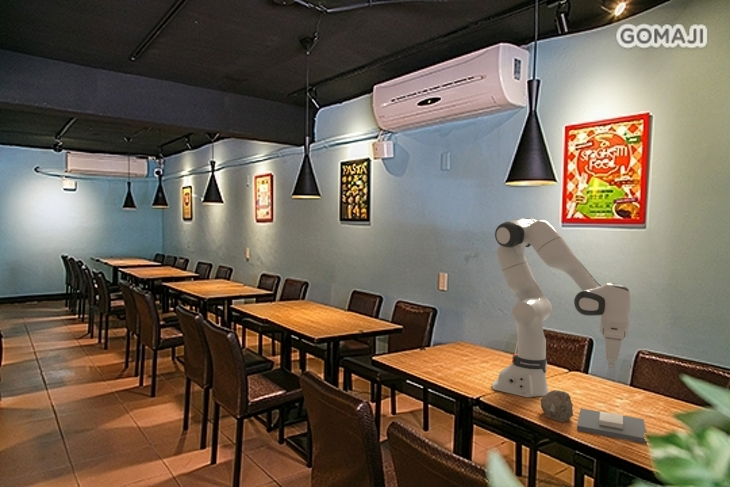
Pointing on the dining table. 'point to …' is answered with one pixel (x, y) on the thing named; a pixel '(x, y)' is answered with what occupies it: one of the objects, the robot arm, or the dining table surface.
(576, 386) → the dining table surface
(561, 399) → the rock
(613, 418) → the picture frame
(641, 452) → the dining table surface
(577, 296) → the robot arm
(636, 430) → the board
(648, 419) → the dining table surface
